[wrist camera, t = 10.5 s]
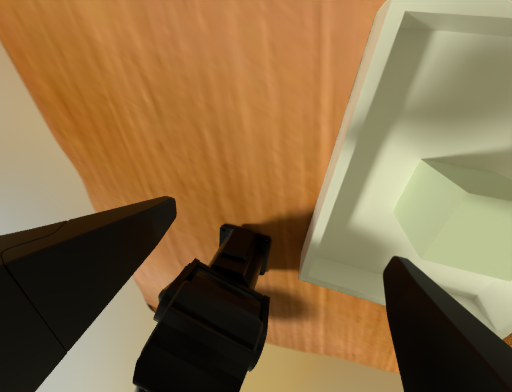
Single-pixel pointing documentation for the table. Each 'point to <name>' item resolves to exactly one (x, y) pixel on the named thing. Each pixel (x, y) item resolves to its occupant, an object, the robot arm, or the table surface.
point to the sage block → (459, 217)
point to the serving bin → (415, 145)
